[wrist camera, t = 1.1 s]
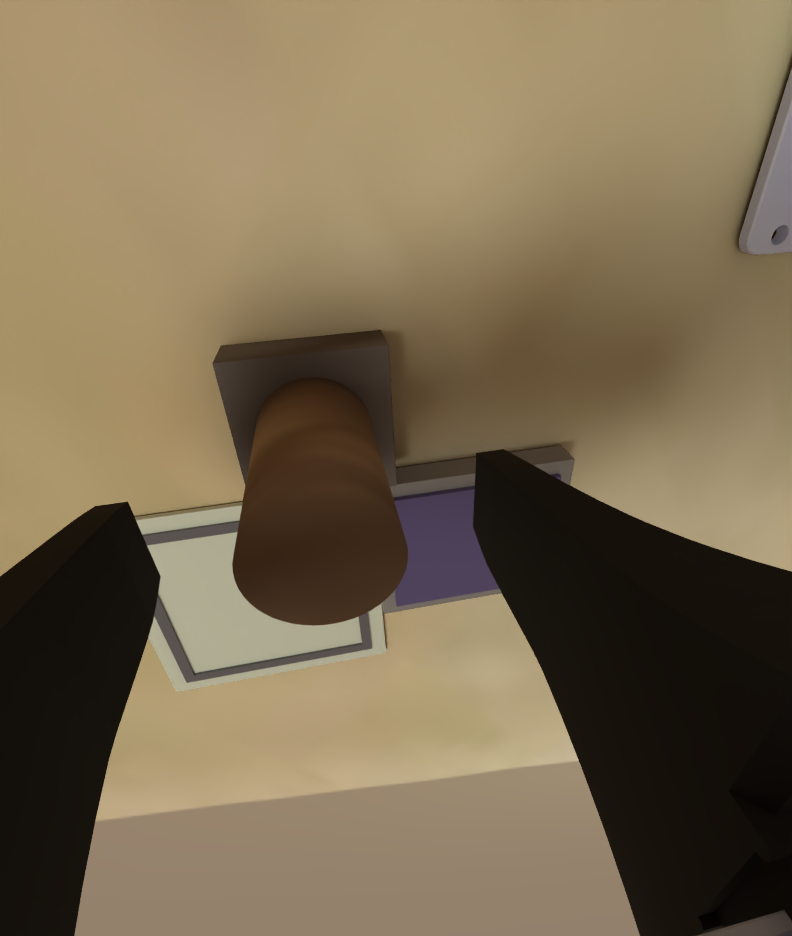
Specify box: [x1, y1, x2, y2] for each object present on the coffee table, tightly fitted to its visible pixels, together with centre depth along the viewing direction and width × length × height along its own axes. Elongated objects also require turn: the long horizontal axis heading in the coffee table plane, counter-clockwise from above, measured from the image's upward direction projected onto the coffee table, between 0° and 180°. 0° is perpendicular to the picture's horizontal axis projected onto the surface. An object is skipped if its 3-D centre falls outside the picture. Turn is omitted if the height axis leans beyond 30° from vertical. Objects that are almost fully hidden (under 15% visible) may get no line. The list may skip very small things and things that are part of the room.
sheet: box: [135, 502, 386, 692], centre depth 18 cm, size 9×9×1 cm
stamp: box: [213, 330, 408, 626], centre depth 12 cm, size 4×4×7 cm
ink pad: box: [382, 445, 574, 614], centre depth 17 cm, size 7×6×1 cm
